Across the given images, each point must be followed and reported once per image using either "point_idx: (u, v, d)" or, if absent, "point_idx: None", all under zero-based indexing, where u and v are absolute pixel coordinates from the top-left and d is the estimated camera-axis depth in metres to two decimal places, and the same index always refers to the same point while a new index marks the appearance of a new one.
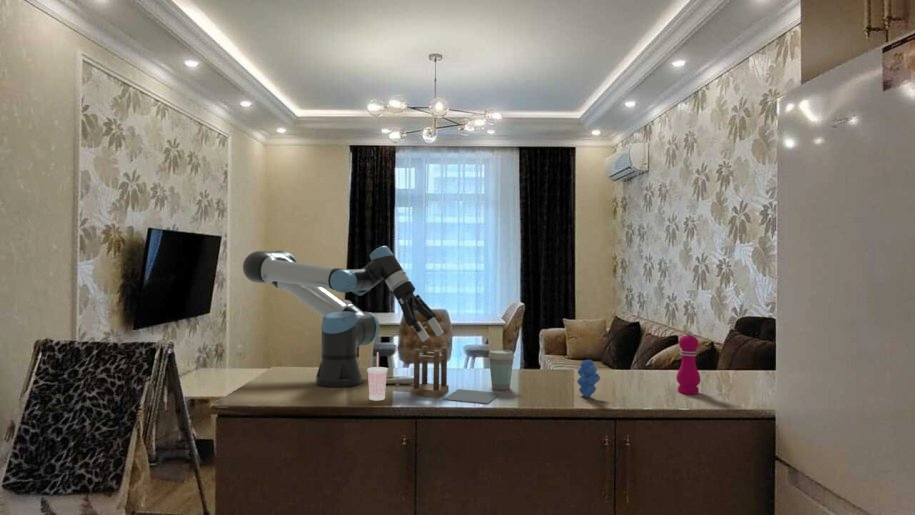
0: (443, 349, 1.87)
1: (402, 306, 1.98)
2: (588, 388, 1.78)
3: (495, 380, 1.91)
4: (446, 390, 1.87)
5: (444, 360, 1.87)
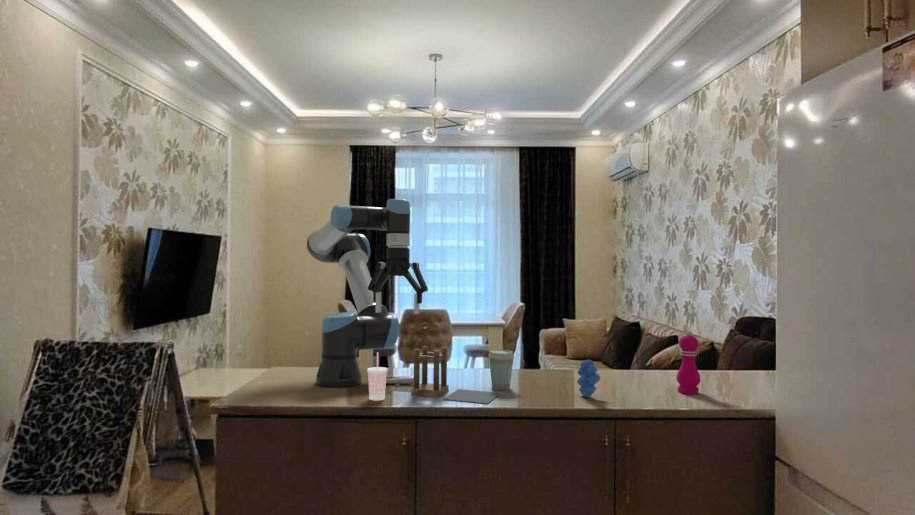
0: (443, 349, 1.87)
1: None
2: (588, 388, 1.78)
3: (495, 380, 1.91)
4: (446, 390, 1.87)
5: (444, 360, 1.87)
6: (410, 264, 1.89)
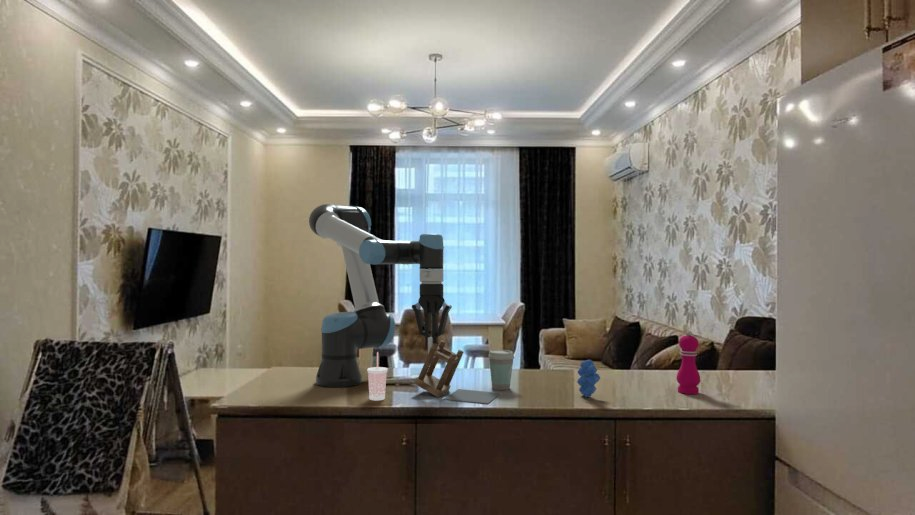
0: (459, 352, 1.85)
1: None
2: (588, 388, 1.78)
3: (495, 380, 1.91)
4: (447, 390, 1.87)
5: (456, 363, 1.86)
6: (444, 304, 1.84)
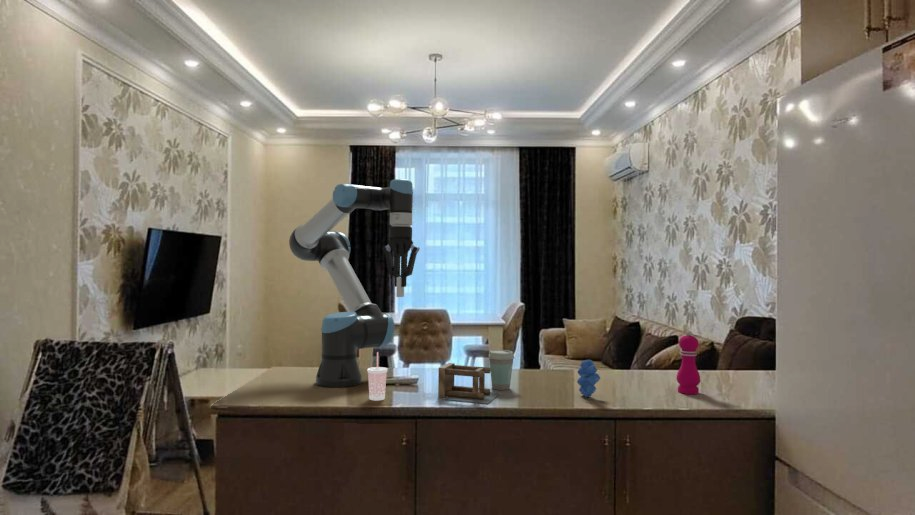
0: (487, 392, 1.82)
1: None
2: (588, 388, 1.78)
3: (495, 380, 1.91)
4: None
5: None
6: (412, 245, 1.95)
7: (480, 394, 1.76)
